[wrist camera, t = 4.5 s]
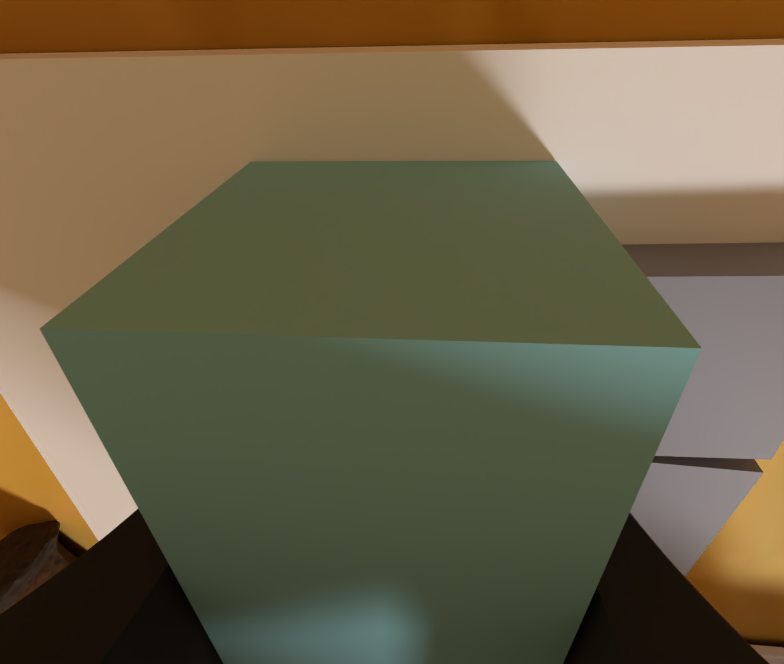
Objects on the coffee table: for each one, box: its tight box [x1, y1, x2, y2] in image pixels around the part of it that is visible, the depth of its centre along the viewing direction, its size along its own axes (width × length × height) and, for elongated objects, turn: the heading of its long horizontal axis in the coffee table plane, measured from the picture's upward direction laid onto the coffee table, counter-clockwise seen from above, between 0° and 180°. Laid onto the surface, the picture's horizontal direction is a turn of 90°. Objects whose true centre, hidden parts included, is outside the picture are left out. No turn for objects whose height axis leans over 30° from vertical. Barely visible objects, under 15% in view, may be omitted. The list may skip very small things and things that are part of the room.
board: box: [0, 39, 784, 541], centre depth 11 cm, size 18×14×2 cm
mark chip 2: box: [630, 456, 763, 577], centre depth 11 cm, size 4×4×1 cm
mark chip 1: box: [622, 242, 784, 460], centre depth 9 cm, size 4×4×1 cm
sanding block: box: [39, 161, 702, 664], centre depth 9 cm, size 5×11×5 cm, turn 2°
